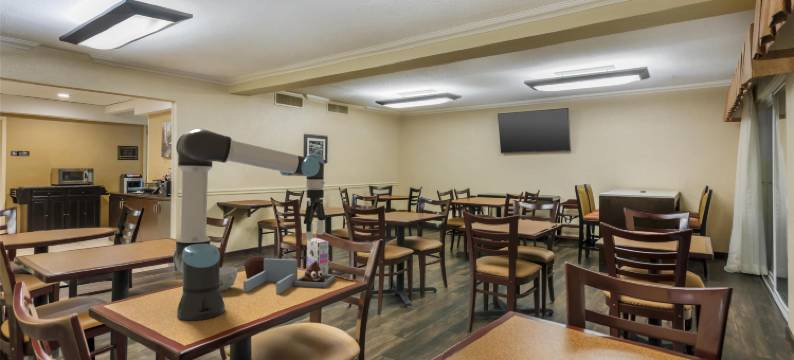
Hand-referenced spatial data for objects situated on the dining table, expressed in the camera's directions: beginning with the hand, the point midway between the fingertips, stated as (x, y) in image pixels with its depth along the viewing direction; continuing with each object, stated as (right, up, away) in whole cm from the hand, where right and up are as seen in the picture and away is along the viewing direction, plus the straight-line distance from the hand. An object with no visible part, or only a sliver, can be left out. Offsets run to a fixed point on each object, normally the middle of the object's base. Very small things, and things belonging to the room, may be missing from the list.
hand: (314, 236), depth 188 cm
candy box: (-2, -20, +18) cm, 27 cm away
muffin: (-29, -20, +9) cm, 37 cm away
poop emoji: (-1, -20, +1) cm, 20 cm away
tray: (0, -21, +1) cm, 21 cm away
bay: (-17, -21, -6) cm, 28 cm away
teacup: (-36, -21, -11) cm, 43 cm away
